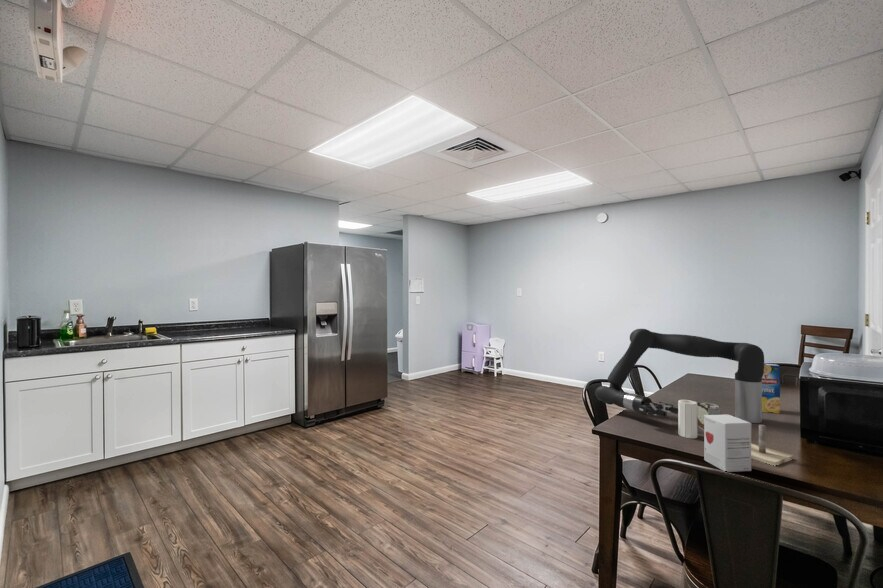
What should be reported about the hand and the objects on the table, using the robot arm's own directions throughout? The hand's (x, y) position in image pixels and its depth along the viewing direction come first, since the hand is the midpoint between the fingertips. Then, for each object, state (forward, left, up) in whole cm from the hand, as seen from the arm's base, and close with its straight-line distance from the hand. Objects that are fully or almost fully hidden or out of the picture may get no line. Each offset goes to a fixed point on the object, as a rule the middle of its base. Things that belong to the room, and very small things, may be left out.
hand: (673, 413), depth 156 cm
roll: (0, +6, -7) cm, 9 cm away
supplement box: (+16, +28, -7) cm, 33 cm away
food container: (-15, +6, -7) cm, 18 cm away
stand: (-3, +29, -7) cm, 30 cm away
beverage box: (-66, +1, -7) cm, 66 cm away
